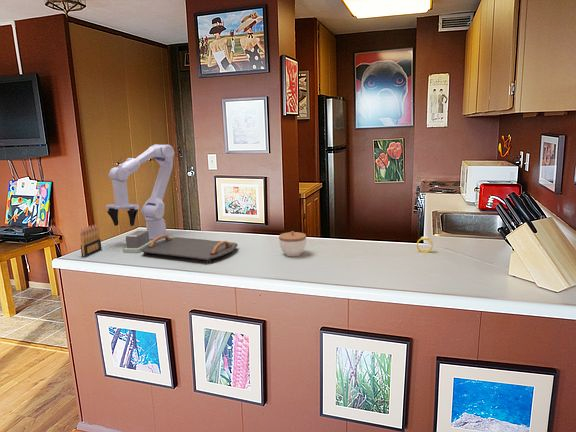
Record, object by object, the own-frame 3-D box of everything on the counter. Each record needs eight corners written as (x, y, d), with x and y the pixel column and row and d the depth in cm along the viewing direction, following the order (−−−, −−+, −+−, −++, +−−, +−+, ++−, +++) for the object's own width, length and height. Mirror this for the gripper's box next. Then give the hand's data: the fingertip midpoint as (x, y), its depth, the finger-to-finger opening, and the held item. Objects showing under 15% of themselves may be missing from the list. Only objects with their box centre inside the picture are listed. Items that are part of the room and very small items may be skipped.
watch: (416, 253, 178) (415, 238, 177) (417, 251, 181) (416, 236, 180) (432, 253, 176) (432, 238, 175) (432, 251, 179) (432, 236, 178)
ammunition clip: (85, 257, 186) (81, 229, 184) (81, 257, 187) (77, 228, 184) (102, 250, 196) (98, 223, 194) (98, 249, 197) (94, 222, 194)
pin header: (139, 244, 204) (138, 234, 203) (153, 244, 202) (152, 234, 201) (123, 252, 191) (122, 242, 190) (138, 253, 190) (137, 242, 189)
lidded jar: (291, 260, 174) (290, 236, 172) (274, 254, 182) (273, 231, 180) (312, 254, 180) (311, 231, 178) (294, 248, 188) (294, 226, 186)
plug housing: (139, 241, 202) (137, 230, 200) (149, 241, 201) (148, 230, 199) (126, 248, 192) (125, 236, 191) (137, 248, 191) (136, 236, 190)
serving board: (134, 256, 186) (133, 242, 185) (171, 242, 207) (170, 229, 205) (214, 266, 170) (213, 251, 169) (245, 250, 191) (244, 235, 189)
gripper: (100, 196, 195) (104, 227, 198) (131, 196, 192) (135, 227, 195) (109, 193, 201) (113, 223, 204) (139, 193, 199) (143, 223, 202)
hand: (124, 225), depth 200 cm, fingers open, 7 cm apart
